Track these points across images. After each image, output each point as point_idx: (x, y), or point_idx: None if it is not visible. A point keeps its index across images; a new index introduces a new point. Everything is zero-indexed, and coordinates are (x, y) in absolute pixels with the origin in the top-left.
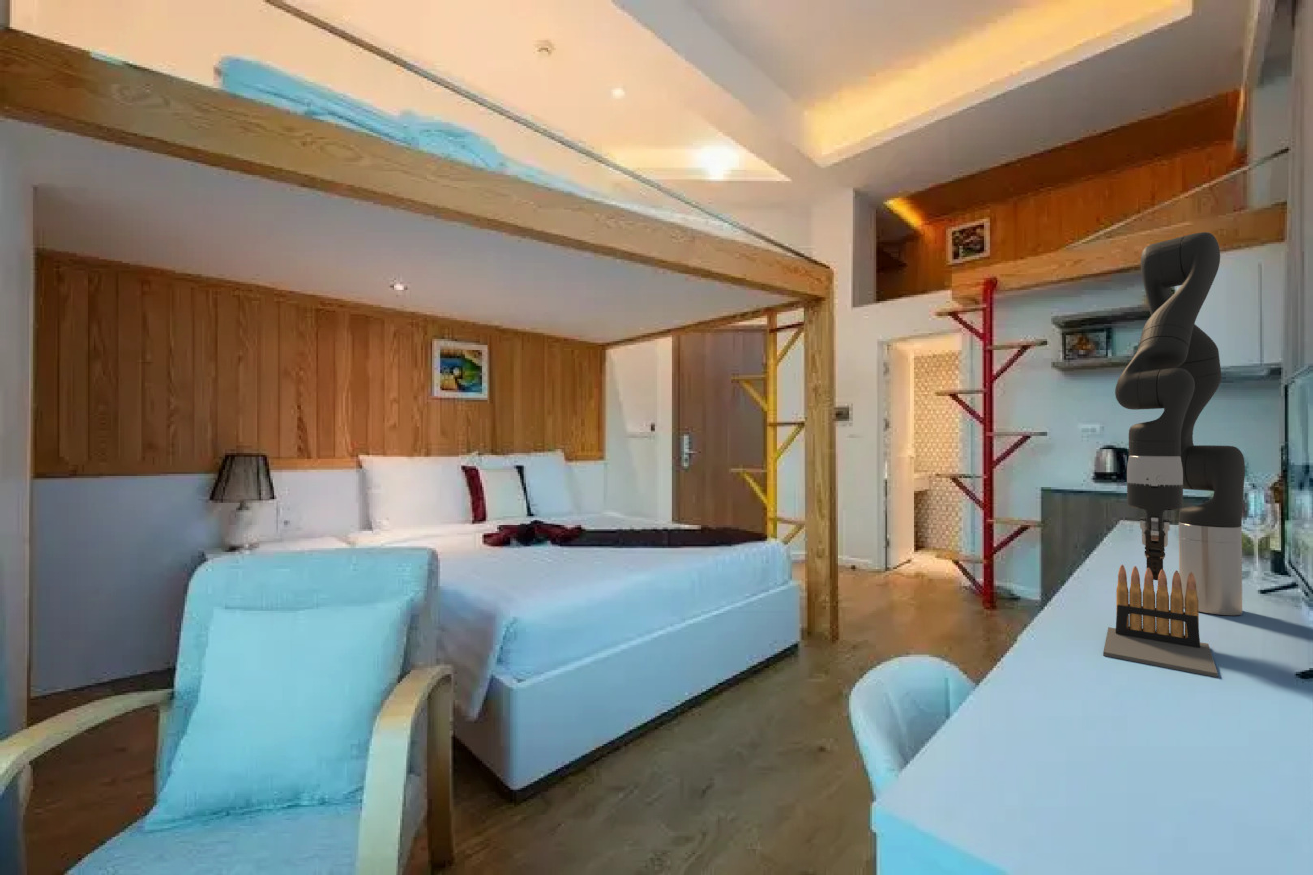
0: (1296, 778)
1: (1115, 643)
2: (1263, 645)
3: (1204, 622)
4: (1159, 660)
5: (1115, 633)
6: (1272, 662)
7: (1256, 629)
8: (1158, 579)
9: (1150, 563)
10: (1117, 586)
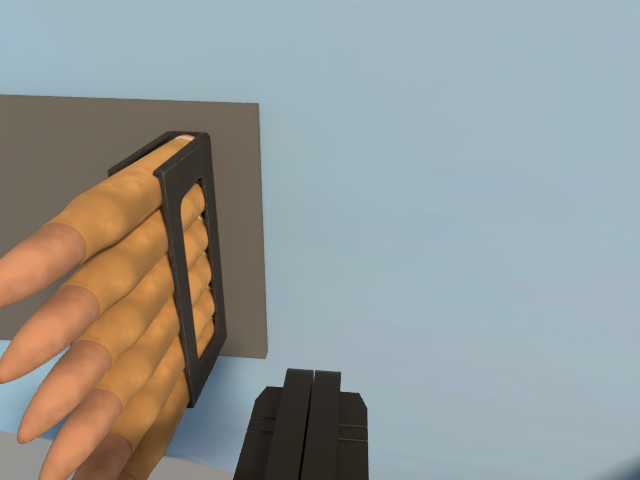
0: None
1: (32, 129)
2: (392, 454)
3: (605, 383)
4: None
5: (172, 130)
6: (230, 439)
7: (581, 474)
8: (68, 418)
9: (240, 466)
10: (71, 204)
